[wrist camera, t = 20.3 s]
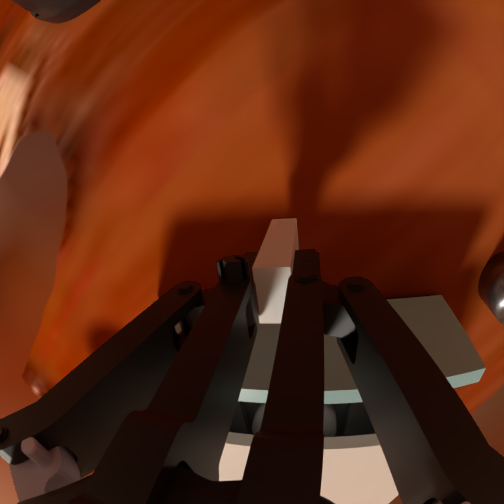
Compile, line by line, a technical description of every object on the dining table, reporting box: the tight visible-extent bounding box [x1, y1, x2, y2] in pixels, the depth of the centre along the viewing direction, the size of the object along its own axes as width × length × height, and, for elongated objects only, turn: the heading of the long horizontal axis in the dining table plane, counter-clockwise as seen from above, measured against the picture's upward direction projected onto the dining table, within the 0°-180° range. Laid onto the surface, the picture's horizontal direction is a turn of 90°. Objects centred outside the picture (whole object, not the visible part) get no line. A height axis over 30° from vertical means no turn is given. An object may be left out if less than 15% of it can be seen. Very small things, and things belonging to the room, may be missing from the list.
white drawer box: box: [219, 432, 398, 504], centre depth 22 cm, size 20×24×10 cm
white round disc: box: [252, 403, 336, 437], centre depth 23 cm, size 8×8×2 cm
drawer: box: [153, 295, 486, 437], centre depth 21 cm, size 24×24×9 cm
